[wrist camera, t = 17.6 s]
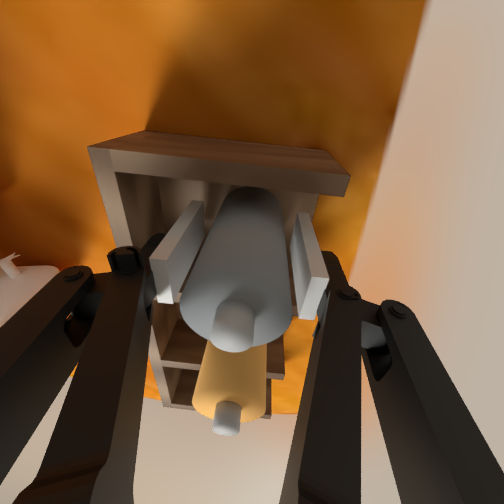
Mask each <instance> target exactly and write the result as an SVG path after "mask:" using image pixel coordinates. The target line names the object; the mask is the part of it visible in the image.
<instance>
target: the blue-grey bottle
mask: <svg viewBox="0 0 504 504" xmlns="http://www.w3.org/2000/svg"><path fill="white" fill-rule="evenodd" d="M180 311H181V314H182V317H183V319H184V320H185V322H186V323H187V324H188V326H189V327H190V328H191V329H192V330H193V331H195V332H196V333H197V334H199V335H200V336H202V337H204V338H205V339H208V340H210V341H211V342H212V344H213V345H214V346H215V347H217V348H219V349H221V350H223V351H227V352H242V351H245V350H247V349H249V348H250V347H254V346H259V345H263V344H266V343H269V342H271V341H273V340H275V339H277V338H278V337H280V336H281V335H282V334H283V333H284V332H285V331H286V330H287V329H288V327H289V325H290V323H291V320H292V315H293V313H292V301H291V291H290V281H289V271H288V261H287V251H286V241H285V231H284V221H283V212H282V208H281V205H280V203H279V201H278V200H277V199H276V197H275V196H274V195H273V194H271V193H270V192H269V191H267V190H265V189H263V188H259V187H250V186H246V187H241V188H238V189H236V190H234V191H232V192H231V193H230V194H229V195H228V196H227V197H226V198H225V199H224V201H223V203H222V205H221V207H220V209H219V211H218V214H217V216H216V218H215V220H214V223H213V225H212V227H211V229H210V232H209V234H208V236H207V238H206V240H205V243H204V245H203V247H202V249H201V252H200V254H199V256H198V258H197V261H196V263H195V265H194V267H193V269H192V272H191V274H190V276H189V278H188V281H187V283H186V285H185V287H184V290H183V292H182V294H181V297H180Z"/></svg>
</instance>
